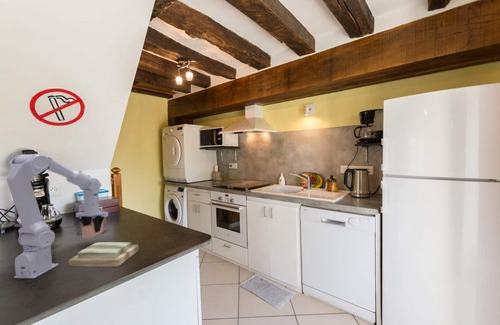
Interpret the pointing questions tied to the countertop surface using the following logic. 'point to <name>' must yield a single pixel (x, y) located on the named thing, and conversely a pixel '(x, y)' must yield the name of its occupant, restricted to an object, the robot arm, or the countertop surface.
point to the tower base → (104, 260)
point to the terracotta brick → (90, 231)
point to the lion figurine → (92, 222)
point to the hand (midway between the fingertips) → (93, 231)
